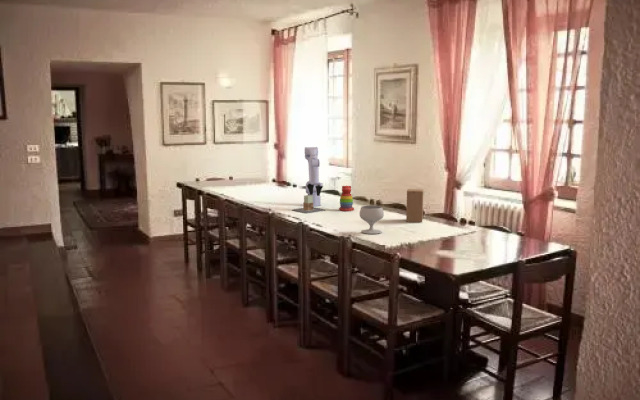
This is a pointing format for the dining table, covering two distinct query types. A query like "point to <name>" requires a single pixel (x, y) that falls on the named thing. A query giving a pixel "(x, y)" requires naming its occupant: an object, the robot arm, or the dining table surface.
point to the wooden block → (414, 205)
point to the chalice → (371, 217)
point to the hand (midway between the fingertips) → (314, 195)
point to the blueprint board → (308, 210)
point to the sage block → (308, 199)
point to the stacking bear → (346, 199)
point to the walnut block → (307, 206)
